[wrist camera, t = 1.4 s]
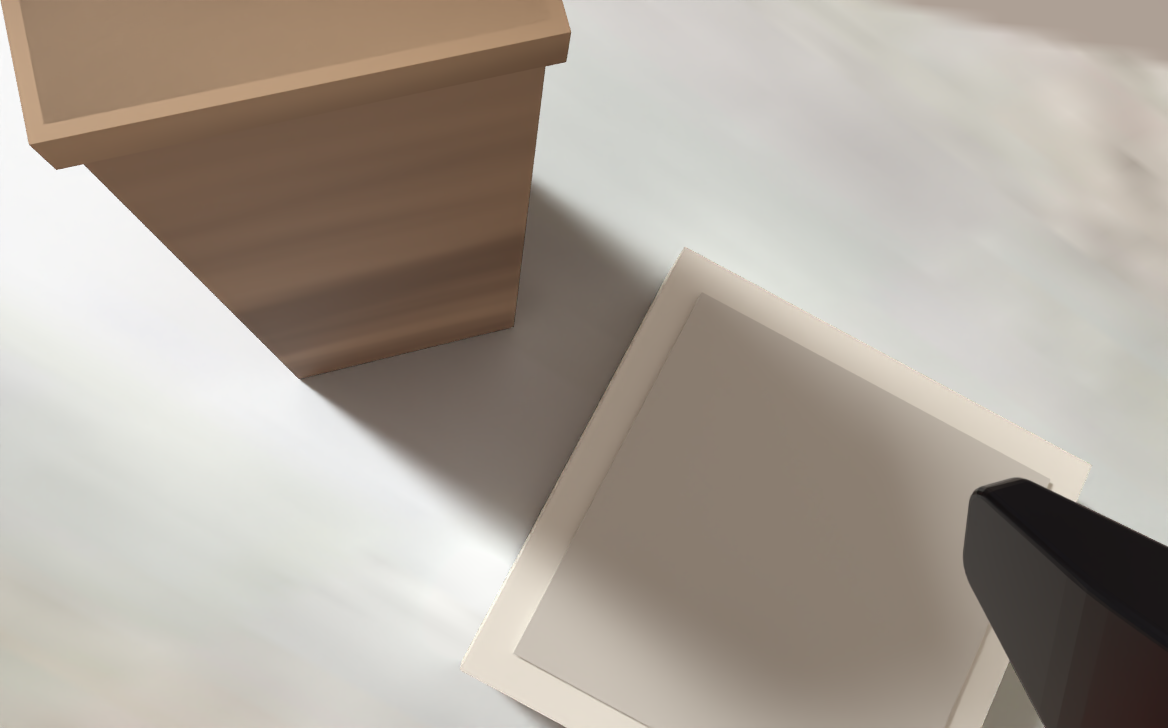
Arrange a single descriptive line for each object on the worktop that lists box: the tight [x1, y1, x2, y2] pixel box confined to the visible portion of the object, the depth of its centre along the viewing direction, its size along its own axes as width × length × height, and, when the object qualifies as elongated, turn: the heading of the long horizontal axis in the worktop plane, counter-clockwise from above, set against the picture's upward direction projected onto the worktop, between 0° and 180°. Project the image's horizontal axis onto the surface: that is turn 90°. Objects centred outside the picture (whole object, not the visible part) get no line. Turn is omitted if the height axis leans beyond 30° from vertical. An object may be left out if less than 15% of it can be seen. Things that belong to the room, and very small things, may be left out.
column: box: [1, 0, 571, 379], centre depth 16 cm, size 5×5×13 cm
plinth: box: [460, 247, 1092, 728], centre depth 21 cm, size 9×9×2 cm
